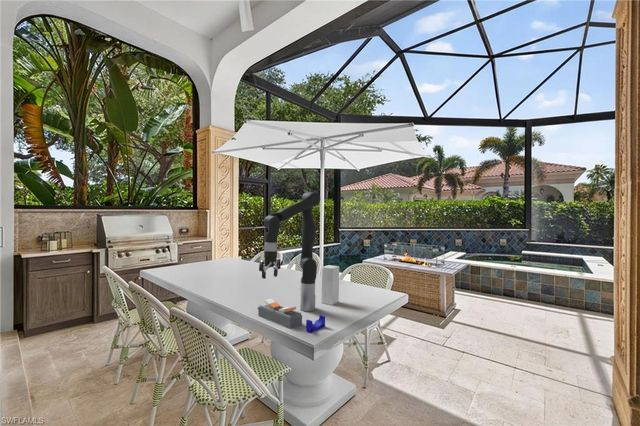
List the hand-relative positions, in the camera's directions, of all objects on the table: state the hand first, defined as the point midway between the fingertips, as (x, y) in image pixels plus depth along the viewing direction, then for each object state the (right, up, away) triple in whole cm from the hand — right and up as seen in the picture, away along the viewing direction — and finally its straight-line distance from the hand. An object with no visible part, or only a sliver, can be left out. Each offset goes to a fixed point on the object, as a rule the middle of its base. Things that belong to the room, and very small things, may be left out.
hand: (269, 277), depth 178 cm
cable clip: (+27, -25, -14) cm, 39 cm away
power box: (+4, -24, 0) cm, 24 cm away
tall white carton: (+36, -24, +32) cm, 55 cm away
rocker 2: (+11, -17, -7) cm, 22 cm away
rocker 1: (+1, -17, +2) cm, 17 cm away
